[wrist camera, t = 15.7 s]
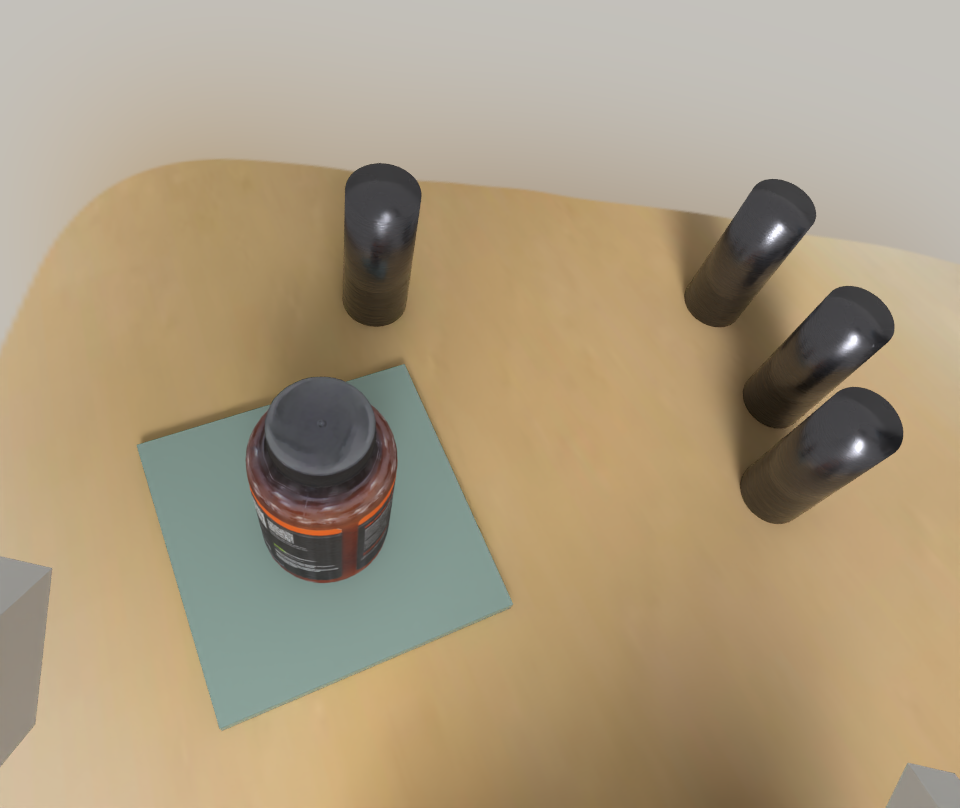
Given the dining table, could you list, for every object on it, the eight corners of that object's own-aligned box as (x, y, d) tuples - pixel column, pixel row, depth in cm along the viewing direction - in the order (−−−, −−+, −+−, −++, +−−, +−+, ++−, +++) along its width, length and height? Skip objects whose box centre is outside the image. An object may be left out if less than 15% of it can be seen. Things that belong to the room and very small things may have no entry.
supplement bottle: (390, 471, 41) (409, 358, 31) (384, 589, 38) (403, 505, 28) (269, 465, 40) (248, 346, 30) (254, 584, 37) (225, 496, 27)
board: (403, 371, 44) (404, 364, 44) (509, 608, 39) (513, 604, 39) (139, 451, 40) (136, 444, 39) (221, 730, 35) (219, 728, 34)
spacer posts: (670, 195, 54) (728, 87, 46) (863, 489, 46) (974, 419, 38) (334, 283, 46) (334, 171, 38) (494, 652, 38) (536, 608, 30)
